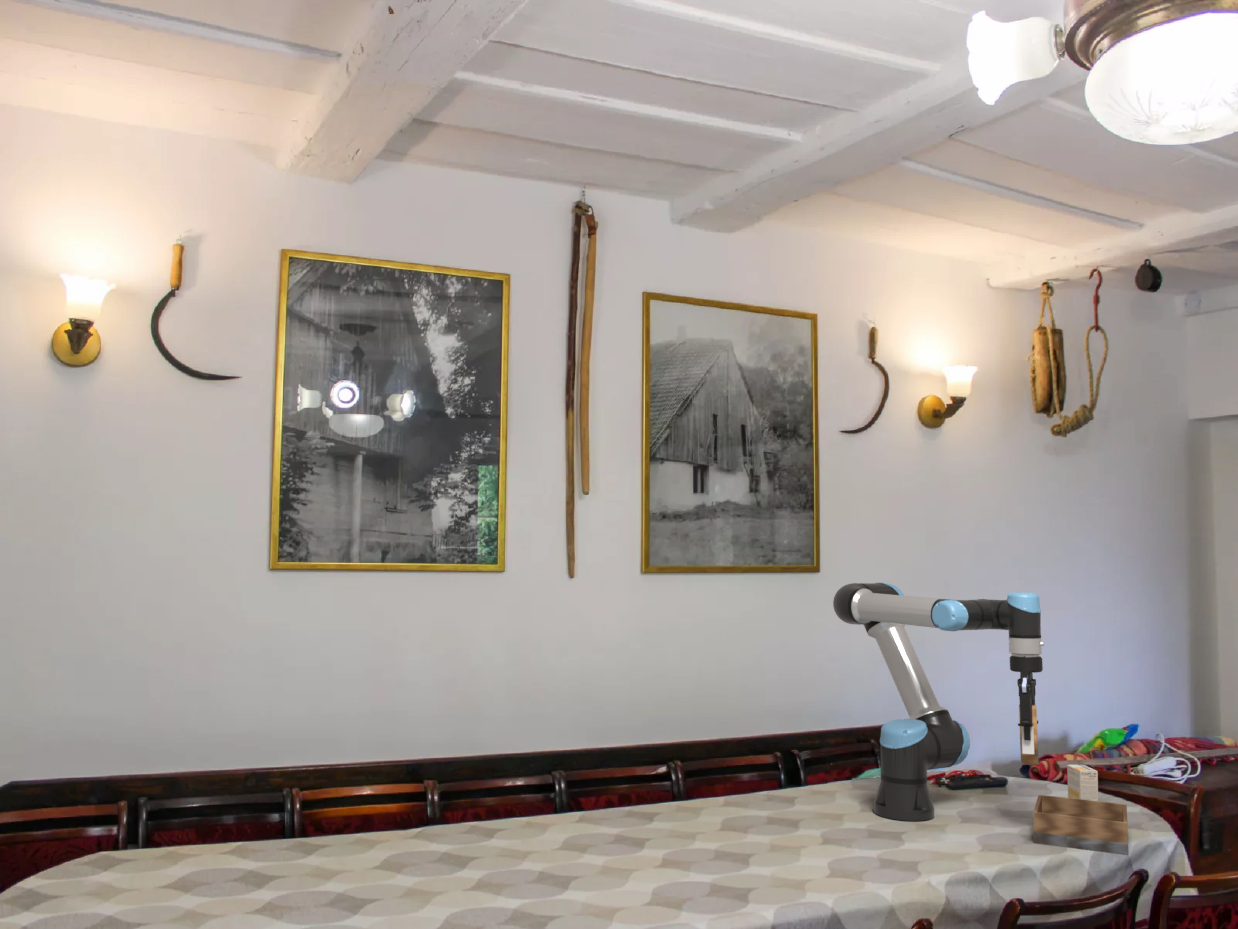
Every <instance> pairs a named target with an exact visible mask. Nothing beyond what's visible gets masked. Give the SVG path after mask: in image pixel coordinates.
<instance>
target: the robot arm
mask: <svg viewBox="0 0 1238 929" xmlns="http://www.w3.org/2000/svg"><path fill="white" fill-rule="evenodd" d="M832 603H833V604H832V605H833V606H832V607H833V610H834V613H835V614H836V616H837V618H839V620H841V621H842V622H844V623H846V624H849V625H857V626H858V625H860V626H861V625H863V626H864V629H865V631H866V633H867V636H869V637H871V638H873V639H875V641H876V643H877V646H878V647H879V650H880V652H881V655H882V657H883V659H884V661H885V663H886V666H887V668H888V671H889V673H890V675H891V677H892V679H893V682H894V684H895V686H896V689H897V691H898V693H899V696H900V698H901V700H902V702H903V705H904V707H905V709H906V712H907V714H908V717H909V718H904V719H900V718H897V719H893V720H890V721H887V722H886V723H884V724H883V725H881V728H880V738H879V743H880V755H879V756H880V759H879V760H880V781H879V786H878V789H877V791H876V794H875V798H874V801H873V812H874V814H875V815H878V816H880V817H882V818H887V819H891V820H897V821H907V822H918V821H919V822H921V821H927V820H932V819H933V818H935V807H934V806H935V805H934V803H933V800H932V797H931V793H930V790H929V787H928V770H934V769H935V770H936V769H941V768H951V767H954V766H957V765H959V764H961V763H963V762H964V761H965V759H966V758H967V756H968V754H969V750H970V748H971V747H970V745H971V744H970V743H971V740H970V739H971V738H970V736H969V732H968V730H967V728H966V727H965V726H964V725H963V724H962V723H960V722H959V721H957V720H953V718H952V716H951V714H950V712H949V709H947V708H945V707H943V706H941V705H940V703H939V701H938V699H937V697H936V695H935V693H934V690H933V688H932V686H931V683H930V682H929V679H928V677H927V675H926V673H925V670H924V668H923V666H922V664H921V662H920V660H919V657H918V656H917V653H916V651H915V649H914V646H913V644H912V642H911V640H910V637H909V636H908V633H907V631H906V629H905V626H906V625H907V626H914V627H915V626H916V627H924V628H925V627H926V628H934V629H939V630H941V631H944V632H946V631H947V632H958V631H977V630H981V631H982V630H998V631H999V630H1002V631H1003V630H1004V631H1008V653H1009V654H1011V655H1010V657H1009V670H1010V671H1012V672H1016V673H1020V674H1019V676H1020V677H1019V678H1018V679H1017V682H1016V683H1017V687H1018V699H1019V705H1020V722H1019V723H1018V722H1017V727H1020V726H1021V731H1022V754H1035V753H1034V727H1032V726H1033V723H1032V705H1036V694H1037V693H1036V685H1037V679H1036V678H1034V675H1033V673H1034V674H1035V673H1036V674H1037V673H1042V672H1043V668H1044V666H1043V657H1042V656H1040V655H1041V654H1043V652H1042V647H1044V646H1045V642H1043V641H1042V632H1041V631H1042V630H1041V629H1042V628H1041V618H1042V617H1041V612H1042V609H1041V602H1040V596H1039V595H1038V594H1037V593H1036V592H1021V591H1020V592H1017V591H1016V592H1015V591H1014V592H1008V594H1007V598H1006V599H1003V600H1002V599H987V598H977V599H947V598H946V599H945V598H933V597H922V596H913V595H912V596H911V595H905V594H904V593H903V591H902V590H901V589H900V588H898V586H896V585H894V584H891V583H886V582H885V583H884V582H873V583H872V582H871V583H868V582H867V583H866V582H865V583H862V582H861V583H857V582H853V583H848V584H845V585H843V586H841V587H840V588H838V590H837V591H836V593H835V595H834V596H833V602H832ZM1038 724H1039V720H1038V719H1037V725H1038Z"/></svg>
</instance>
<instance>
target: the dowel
mask: <svg viewBox="0 0 1238 929" xmlns="http://www.w3.org/2000/svg"><path fill="white" fill-rule="evenodd" d="M1037 715H1038V714H1037V705H1036V704H1035V705H1032V723H1033V726H1032V727H1034V753H1035V754H1022V731H1021V726H1019V740H1020V742H1019V744H1020V745H1019V746H1020V764H1022V765H1026V766H1027V765H1028V766H1039V764H1040V763H1039V743H1038V742H1039V741H1038V740H1039V739H1038V738H1039V737H1038V724H1037V720H1038V718H1037V717H1038V716H1037ZM1018 720H1019V723H1020V704H1018Z"/></svg>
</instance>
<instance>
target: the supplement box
mask: <svg viewBox="0 0 1238 929" xmlns="http://www.w3.org/2000/svg"><path fill="white" fill-rule="evenodd" d="M1066 766H1067V767H1066V768H1067V772H1066V773H1067V774H1066V775H1067V798H1073V799H1082V800H1091V801H1099V777H1098V776H1099V773H1098V770H1096V769H1094V768H1091V767H1089V766H1087V765H1085V764H1067V765H1066Z"/></svg>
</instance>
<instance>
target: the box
mask: <svg viewBox="0 0 1238 929" xmlns="http://www.w3.org/2000/svg"><path fill="white" fill-rule="evenodd" d="M1032 814H1033V815H1032V820H1033V825H1032V826H1033V827H1032V830H1033V831H1032V834H1033V837H1032V838H1033V839H1032V841H1033V843H1034V844H1040V845H1041V844H1043V845H1047V846H1048V845H1049V846H1056V847H1057V846H1058V847H1062V848H1071V849H1079V850H1087V851H1094V852H1102V853H1111V854H1117V855H1125V856H1128V855H1129V827H1128V826H1129V825H1128V823H1129V822H1128V806H1127V804H1125V803H1117V802H1107V801H1099V800H1098V801H1091V800H1082V799H1073V798H1068V797H1062V796H1054V795H1046V794H1038V796H1037V800H1036V803H1035V804H1034V809H1033V811H1032Z"/></svg>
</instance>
